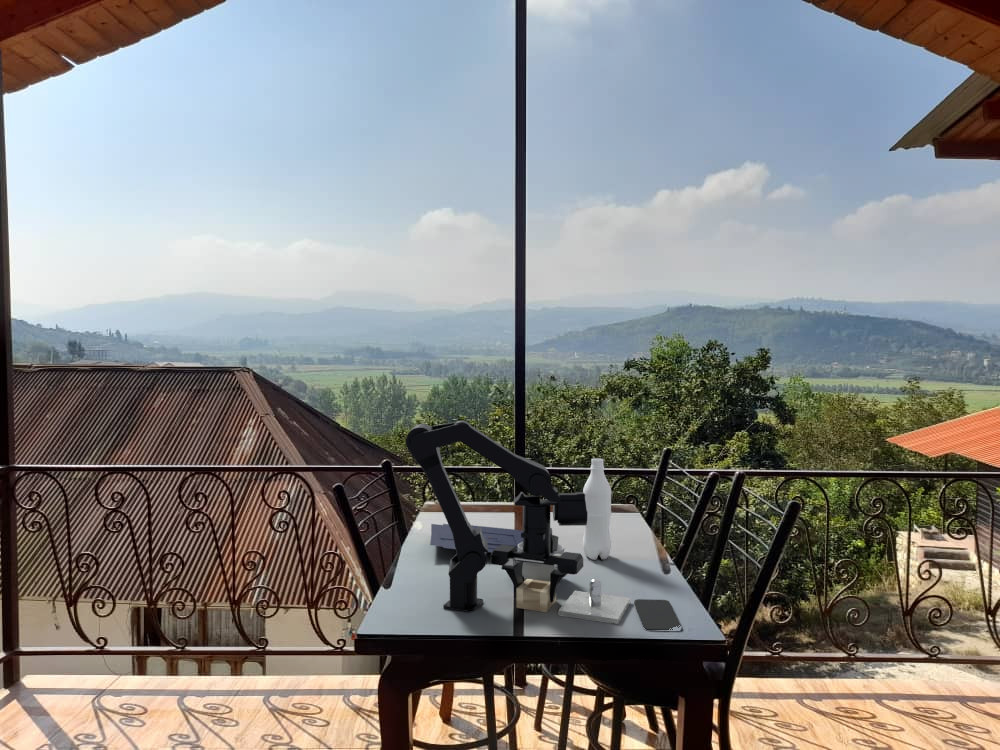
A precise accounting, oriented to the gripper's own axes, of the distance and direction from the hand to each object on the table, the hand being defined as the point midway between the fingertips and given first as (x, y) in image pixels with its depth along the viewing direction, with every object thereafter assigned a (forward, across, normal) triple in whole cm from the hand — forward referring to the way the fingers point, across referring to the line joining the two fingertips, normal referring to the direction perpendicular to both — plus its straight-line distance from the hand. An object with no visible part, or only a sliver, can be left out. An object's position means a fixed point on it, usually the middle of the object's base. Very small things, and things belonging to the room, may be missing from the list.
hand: (536, 599), depth 147 cm
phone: (+2, -24, -3) cm, 25 cm away
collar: (+1, 0, 0) cm, 1 cm away
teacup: (+1, +3, -14) cm, 14 cm away
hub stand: (+1, -12, -2) cm, 12 cm away
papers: (+2, +25, -34) cm, 42 cm away
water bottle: (+1, -4, -36) cm, 36 cm away
